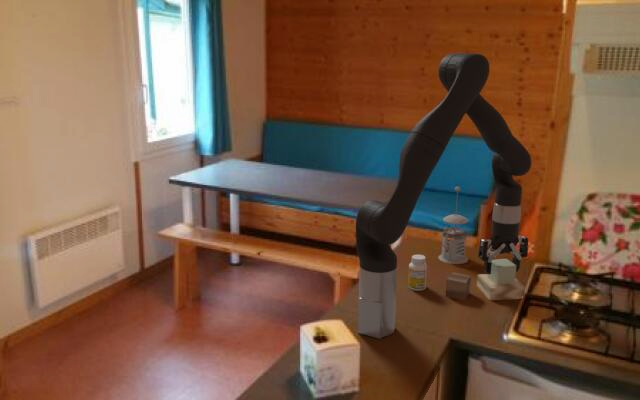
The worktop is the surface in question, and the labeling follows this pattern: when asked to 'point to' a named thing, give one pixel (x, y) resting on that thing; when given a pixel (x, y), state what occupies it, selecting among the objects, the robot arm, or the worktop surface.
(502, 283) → the green cube
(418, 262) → the supplement bottle
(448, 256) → the french press
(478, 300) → the worktop surface
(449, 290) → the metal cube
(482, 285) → the pine block
